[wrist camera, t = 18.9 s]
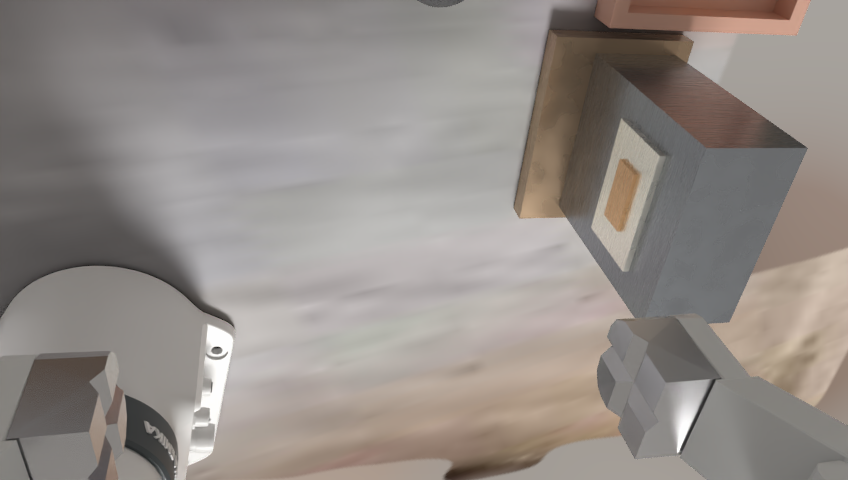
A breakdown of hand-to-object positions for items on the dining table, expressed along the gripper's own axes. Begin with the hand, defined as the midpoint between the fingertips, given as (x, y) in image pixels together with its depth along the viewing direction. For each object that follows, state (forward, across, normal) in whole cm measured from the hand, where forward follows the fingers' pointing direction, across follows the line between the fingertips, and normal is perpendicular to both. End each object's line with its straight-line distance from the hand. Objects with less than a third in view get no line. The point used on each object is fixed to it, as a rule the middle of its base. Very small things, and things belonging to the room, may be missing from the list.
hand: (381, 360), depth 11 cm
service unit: (+35, -22, +12) cm, 43 cm away
